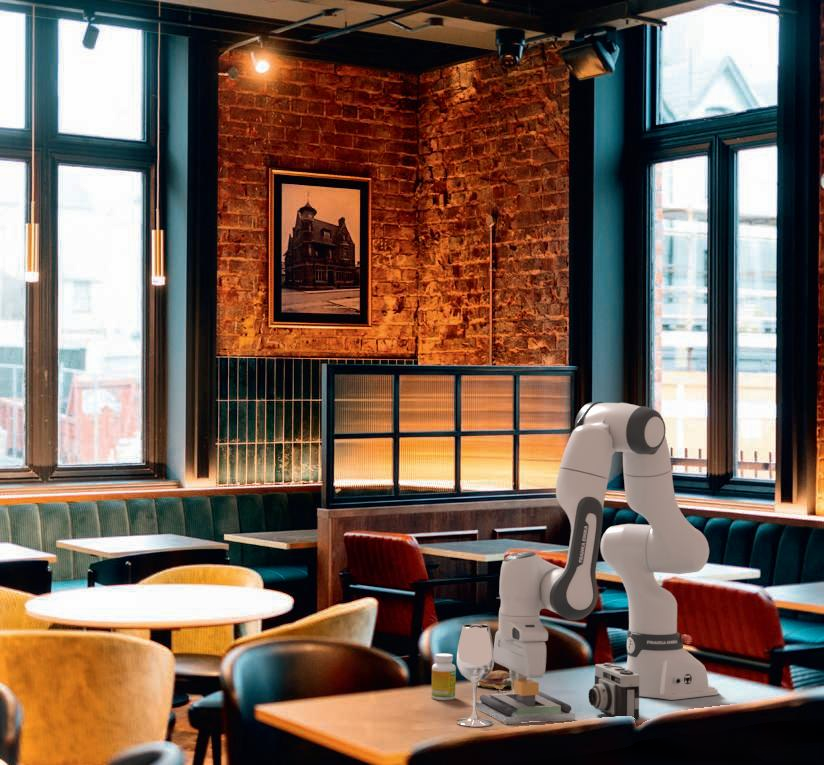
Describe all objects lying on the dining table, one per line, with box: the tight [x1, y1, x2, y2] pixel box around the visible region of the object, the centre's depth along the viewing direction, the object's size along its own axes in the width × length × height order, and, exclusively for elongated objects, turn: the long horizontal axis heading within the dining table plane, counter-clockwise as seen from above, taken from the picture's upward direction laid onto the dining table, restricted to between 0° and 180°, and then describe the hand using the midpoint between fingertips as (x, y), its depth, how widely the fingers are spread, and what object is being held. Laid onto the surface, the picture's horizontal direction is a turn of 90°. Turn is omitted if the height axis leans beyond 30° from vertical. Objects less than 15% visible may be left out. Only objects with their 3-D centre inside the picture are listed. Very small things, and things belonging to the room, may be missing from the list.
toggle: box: [513, 679, 540, 707], centre depth 282 cm, size 4×4×5 cm
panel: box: [476, 692, 576, 724], centre depth 283 cm, size 16×16×3 cm
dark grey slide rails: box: [479, 691, 572, 716], centre depth 283 cm, size 15×16×2 cm
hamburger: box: [478, 669, 512, 692], centre depth 311 cm, size 14×14×6 cm
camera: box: [588, 662, 640, 721], centre depth 285 cm, size 14×8×10 cm, turn 17°
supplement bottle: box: [430, 653, 457, 701], centre depth 298 cm, size 5×5×10 cm
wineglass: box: [455, 623, 495, 728], centre depth 274 cm, size 8×8×20 cm
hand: (517, 691), depth 286 cm, fingers closed
